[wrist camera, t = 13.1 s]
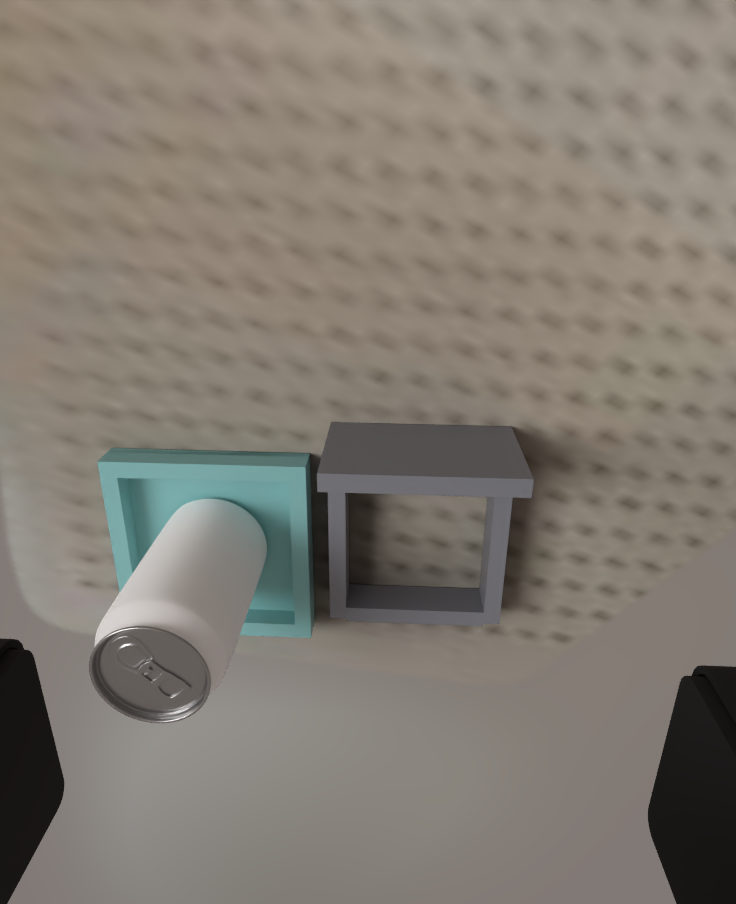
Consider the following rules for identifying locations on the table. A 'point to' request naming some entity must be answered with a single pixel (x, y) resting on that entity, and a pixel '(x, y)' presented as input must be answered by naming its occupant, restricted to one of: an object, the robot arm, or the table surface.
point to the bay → (422, 473)
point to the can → (180, 613)
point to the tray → (230, 479)
